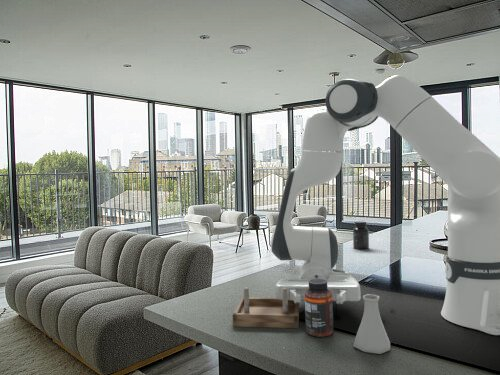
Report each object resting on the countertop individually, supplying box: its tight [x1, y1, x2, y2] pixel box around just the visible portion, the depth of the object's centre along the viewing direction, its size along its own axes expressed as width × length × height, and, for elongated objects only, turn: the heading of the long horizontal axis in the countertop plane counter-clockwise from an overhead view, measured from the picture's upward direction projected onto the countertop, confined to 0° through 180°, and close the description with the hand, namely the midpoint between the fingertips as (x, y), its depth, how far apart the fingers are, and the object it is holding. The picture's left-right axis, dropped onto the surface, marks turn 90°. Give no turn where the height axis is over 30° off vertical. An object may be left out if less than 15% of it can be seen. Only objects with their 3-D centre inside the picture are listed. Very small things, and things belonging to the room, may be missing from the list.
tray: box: [232, 287, 300, 329], centre depth 93 cm, size 15×12×8 cm
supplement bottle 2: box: [352, 221, 370, 251], centre depth 173 cm, size 7×7×12 cm
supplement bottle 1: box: [304, 279, 334, 338], centre depth 83 cm, size 6×6×11 cm
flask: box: [352, 293, 391, 355], centre depth 76 cm, size 7×7×10 cm
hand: (318, 300), depth 86 cm, fingers open, 8 cm apart
